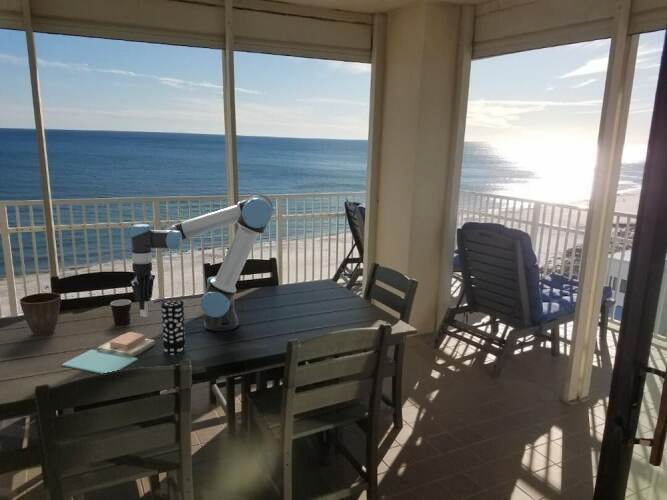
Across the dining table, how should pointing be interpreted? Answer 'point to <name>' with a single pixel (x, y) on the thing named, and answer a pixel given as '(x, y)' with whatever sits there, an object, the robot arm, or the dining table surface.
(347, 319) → the dining table surface
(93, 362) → the teal mat
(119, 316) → the coffee mug
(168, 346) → the white-spotted black cylinder
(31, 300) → the plant pot
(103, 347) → the board
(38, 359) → the dining table surface
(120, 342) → the terracotta tile
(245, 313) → the dining table surface
